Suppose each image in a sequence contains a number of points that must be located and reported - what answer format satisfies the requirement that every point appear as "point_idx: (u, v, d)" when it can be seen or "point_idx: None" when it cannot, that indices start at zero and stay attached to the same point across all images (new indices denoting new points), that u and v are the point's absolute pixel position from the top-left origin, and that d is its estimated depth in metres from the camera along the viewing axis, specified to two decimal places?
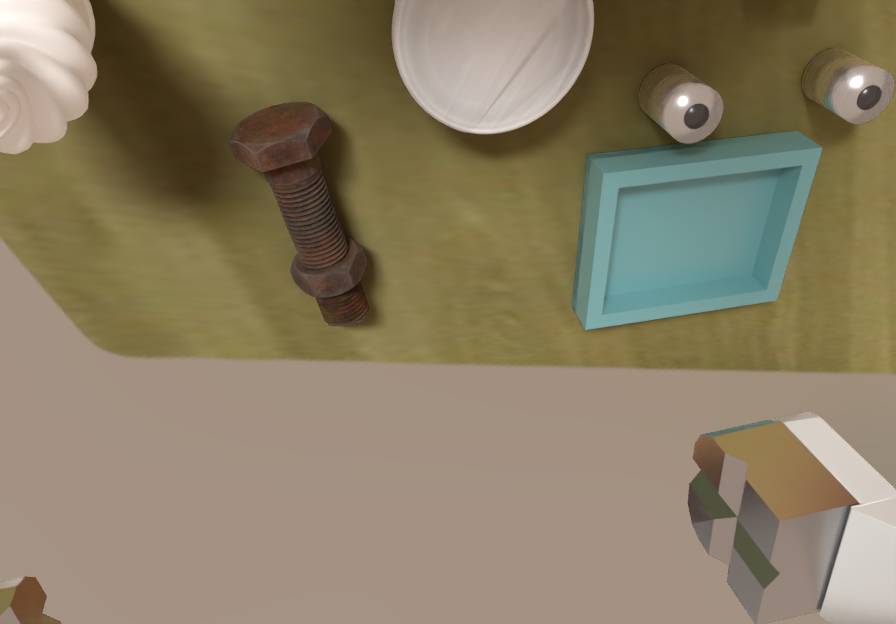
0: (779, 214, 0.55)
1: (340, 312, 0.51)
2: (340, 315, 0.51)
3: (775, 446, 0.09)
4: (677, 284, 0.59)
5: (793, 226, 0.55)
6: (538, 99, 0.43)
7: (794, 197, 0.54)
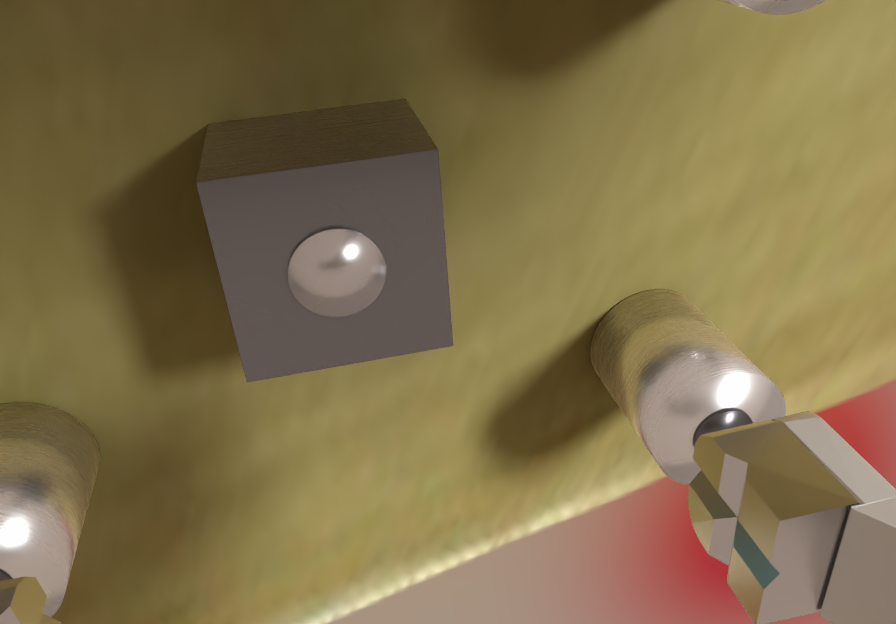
0: None
1: None
2: None
3: (775, 446, 0.09)
4: None
5: None
6: None
7: None
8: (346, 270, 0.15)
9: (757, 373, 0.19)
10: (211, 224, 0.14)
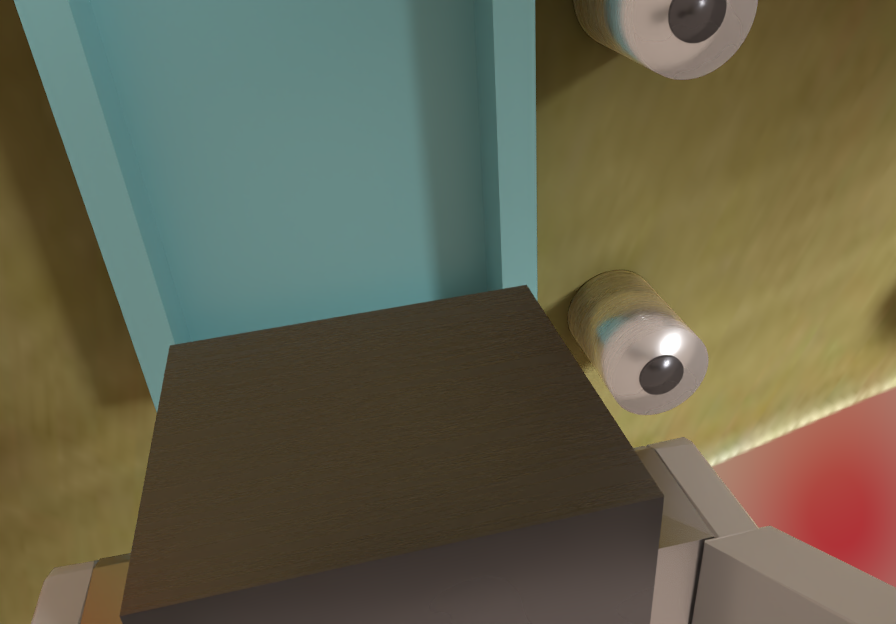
0: None
1: None
2: None
3: None
4: (144, 165, 0.23)
5: None
6: None
7: None
8: None
9: None
10: None
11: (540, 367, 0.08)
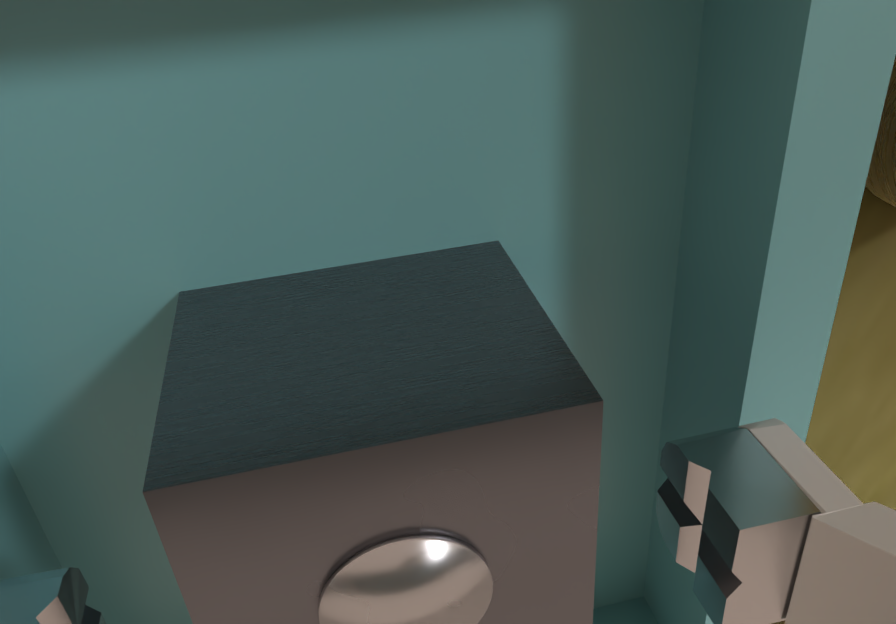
0: None
1: None
2: None
3: (740, 454, 0.09)
4: (25, 473, 0.11)
5: None
6: None
7: None
8: (424, 596, 0.08)
9: None
10: (175, 551, 0.08)
11: (505, 305, 0.10)
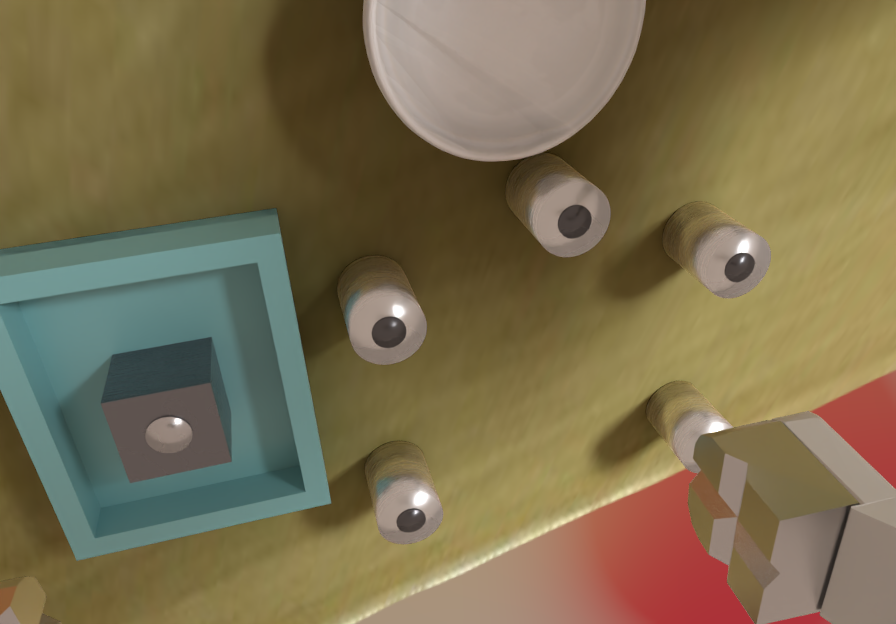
0: (221, 498, 0.40)
1: None
2: None
3: (775, 446, 0.09)
4: (64, 410, 0.36)
5: (212, 523, 0.39)
6: (417, 101, 0.30)
7: (257, 504, 0.39)
8: (173, 433, 0.34)
9: (726, 423, 0.43)
10: (108, 418, 0.33)
11: (201, 358, 0.35)
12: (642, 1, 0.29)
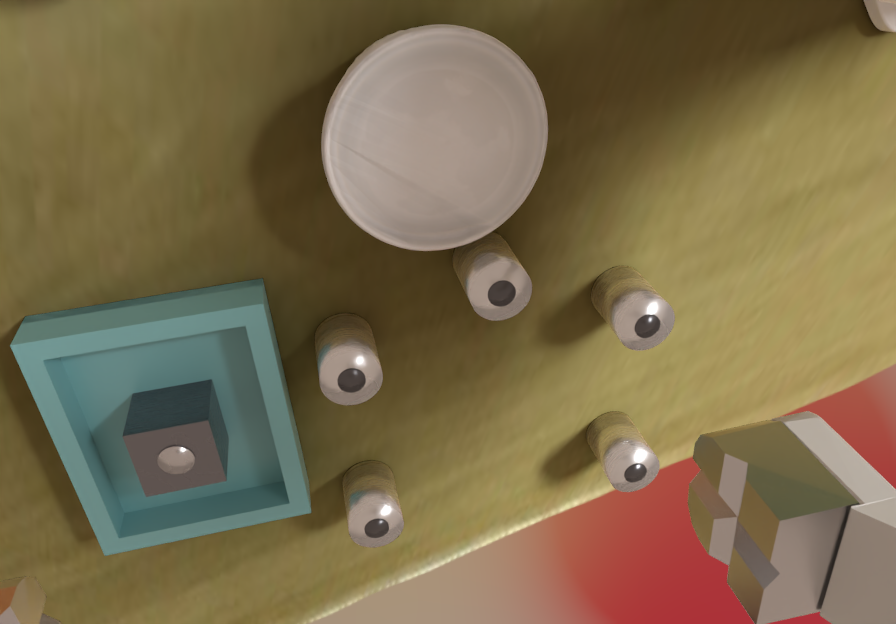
0: (221, 507, 0.48)
1: None
2: None
3: (775, 446, 0.09)
4: (95, 436, 0.45)
5: (213, 527, 0.48)
6: (366, 208, 0.38)
7: (249, 513, 0.48)
8: (179, 458, 0.42)
9: (647, 450, 0.51)
10: (128, 447, 0.41)
11: (202, 398, 0.43)
12: (544, 130, 0.37)
